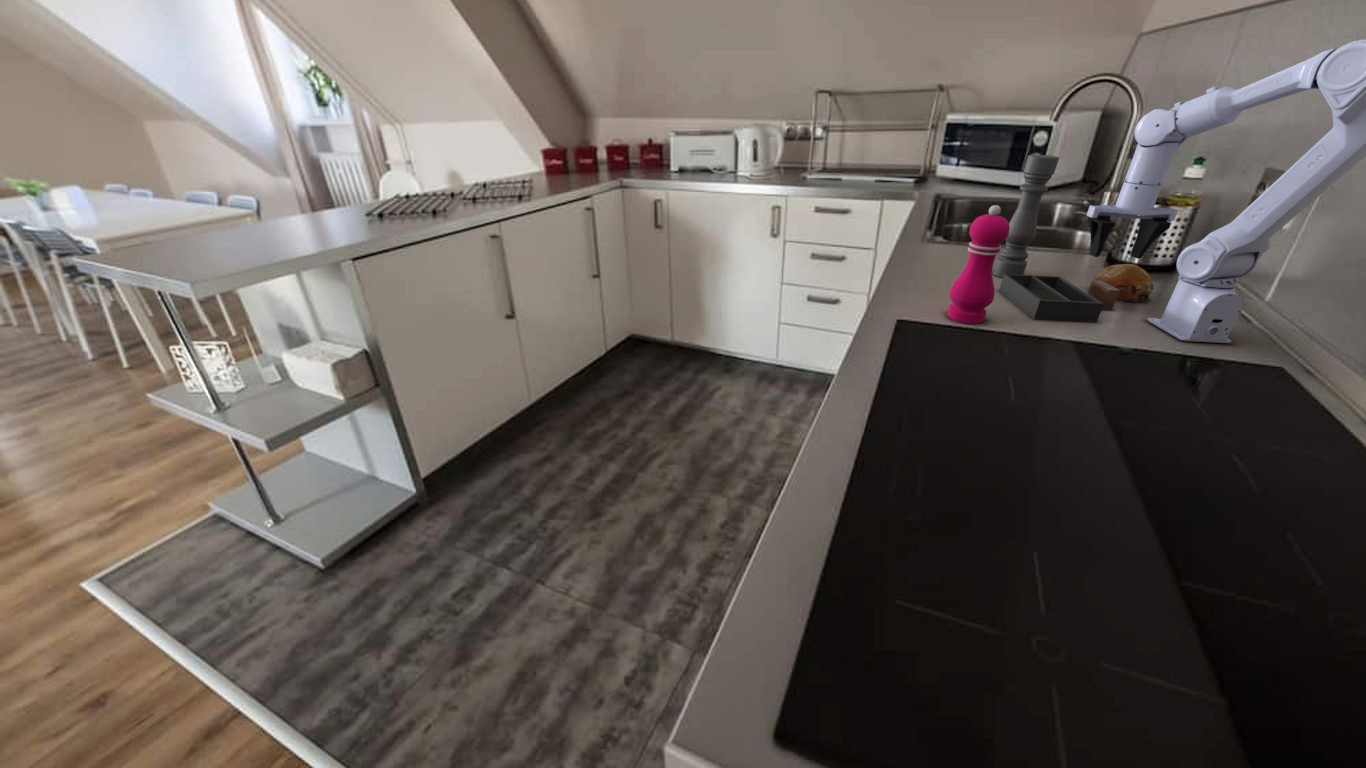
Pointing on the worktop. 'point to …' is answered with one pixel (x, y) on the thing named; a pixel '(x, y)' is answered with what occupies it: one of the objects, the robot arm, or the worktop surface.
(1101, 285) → the brown block
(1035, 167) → the candle holder
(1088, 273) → the worktop surface
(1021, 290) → the organizer
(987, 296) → the pepper mill
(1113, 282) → the bread roll
